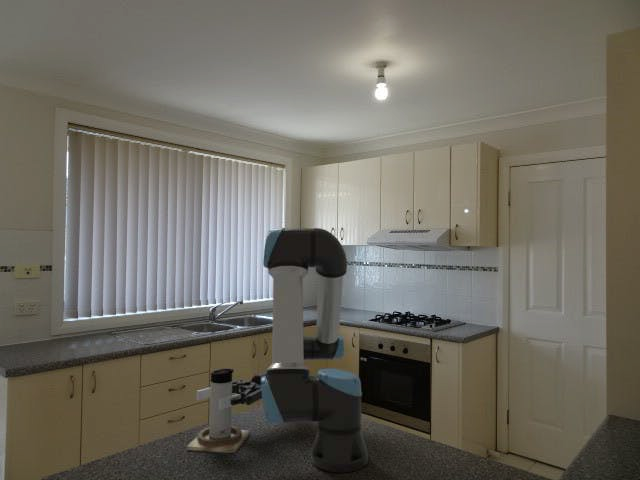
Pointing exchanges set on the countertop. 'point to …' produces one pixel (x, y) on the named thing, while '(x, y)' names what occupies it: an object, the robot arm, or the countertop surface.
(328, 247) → the robot arm
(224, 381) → the travel mug
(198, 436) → the mug stand
